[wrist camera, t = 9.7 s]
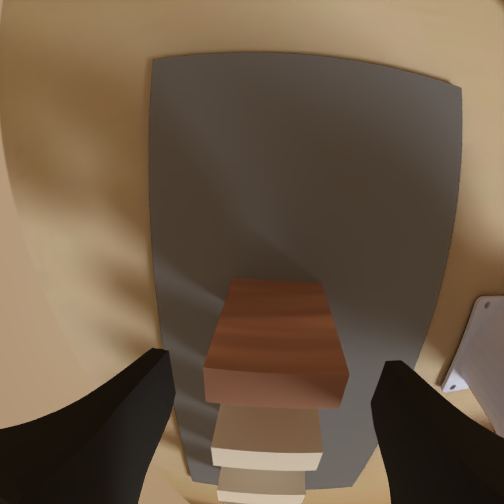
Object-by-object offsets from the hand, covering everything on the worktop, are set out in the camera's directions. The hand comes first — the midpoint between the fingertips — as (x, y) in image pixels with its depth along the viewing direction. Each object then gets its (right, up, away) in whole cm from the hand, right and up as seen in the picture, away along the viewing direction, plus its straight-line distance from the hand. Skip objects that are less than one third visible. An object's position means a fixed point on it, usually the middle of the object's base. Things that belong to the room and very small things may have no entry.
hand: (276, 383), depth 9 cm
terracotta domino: (0, +2, +6) cm, 7 cm away
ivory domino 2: (0, -6, +9) cm, 11 cm away
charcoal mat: (+2, -3, +8) cm, 9 cm away
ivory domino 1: (0, -2, +8) cm, 8 cm away
